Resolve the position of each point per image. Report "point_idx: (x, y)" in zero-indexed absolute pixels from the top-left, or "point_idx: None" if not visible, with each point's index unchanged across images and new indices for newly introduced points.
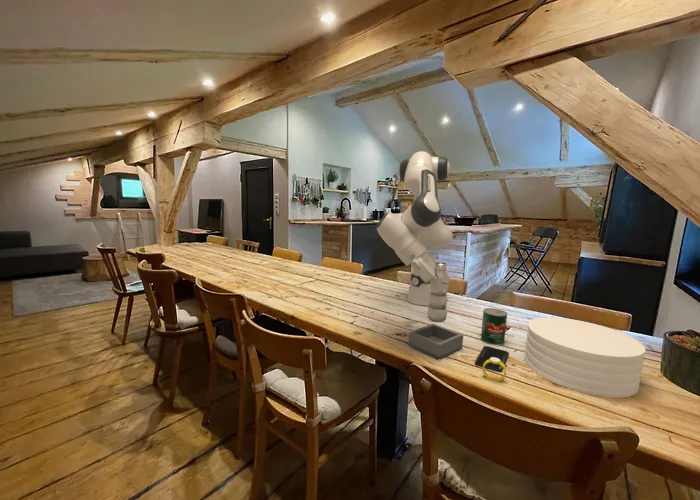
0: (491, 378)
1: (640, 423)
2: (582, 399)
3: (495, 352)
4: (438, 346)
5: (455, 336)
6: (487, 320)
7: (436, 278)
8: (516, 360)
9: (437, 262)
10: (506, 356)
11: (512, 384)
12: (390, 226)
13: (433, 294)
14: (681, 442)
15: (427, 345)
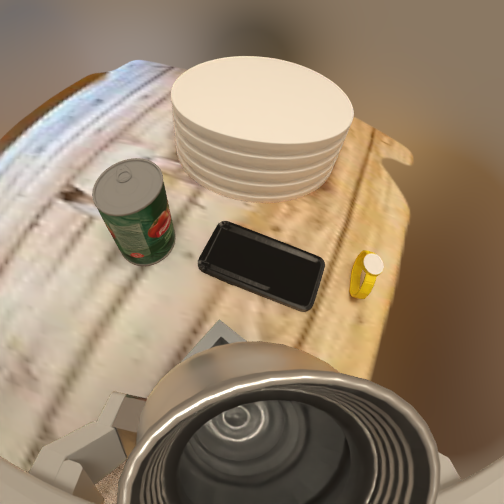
0: (359, 286)
1: (373, 148)
2: (353, 174)
3: (230, 249)
4: None
5: None
6: (149, 221)
7: (440, 459)
8: (251, 216)
9: None
10: (246, 231)
11: (359, 253)
12: None
13: (290, 461)
14: (385, 138)
15: None
